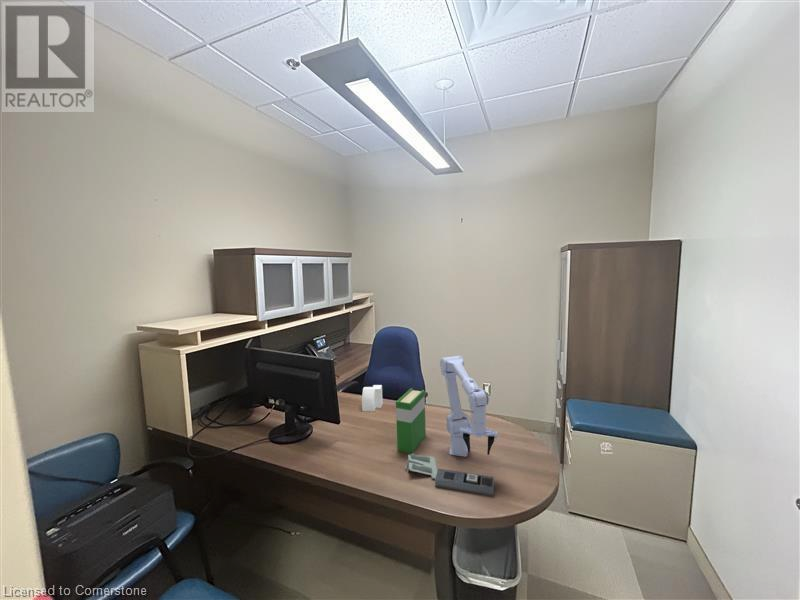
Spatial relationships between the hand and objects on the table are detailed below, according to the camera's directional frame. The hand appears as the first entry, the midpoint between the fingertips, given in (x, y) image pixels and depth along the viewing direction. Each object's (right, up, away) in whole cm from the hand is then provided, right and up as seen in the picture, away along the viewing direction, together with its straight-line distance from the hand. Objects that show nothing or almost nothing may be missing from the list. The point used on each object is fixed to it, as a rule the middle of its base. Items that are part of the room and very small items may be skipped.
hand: (478, 452), depth 135 cm
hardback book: (-26, -8, +27) cm, 38 cm away
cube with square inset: (-4, -11, -6) cm, 13 cm away
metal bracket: (-23, -11, +6) cm, 26 cm away
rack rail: (-7, -11, -5) cm, 14 cm away
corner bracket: (-49, -4, +68) cm, 84 cm away
